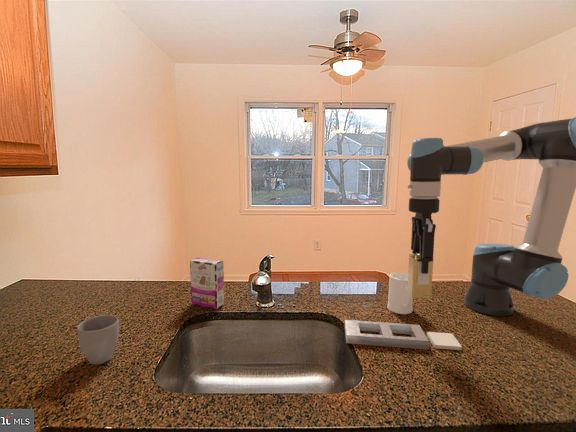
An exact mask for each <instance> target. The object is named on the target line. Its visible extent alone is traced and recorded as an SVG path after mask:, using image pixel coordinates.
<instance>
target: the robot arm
mask: <svg viewBox="0 0 576 432" xmlns="http://www.w3.org/2000/svg"><path fill="white" fill-rule="evenodd" d="M498 160H503V161H507V162H508V161H514V160H538V164H539V165H540V166H541V167H542V171H541V175H540V179H539V181H538V182H539V183H538V186H537V188H536V192H535V197H534V199H533V203H532V207H531V210H530V214H529V217H528V218H529V219H528V221H527V225H526V229H525V232H524V235H523V236H524V237H523V239H522V242H521V243H520V244H518V245H516V246H514V245H512V244H505V243H504V244H503V243H480V244H479V243H478V244H477V245H476V246H475V247H474V251H473V255H472V266H471V279H470V284H469V286H468V288H467V290H466V291H465V294H464V296H463V304H464V305H465V306H466V307H467V308H468V309H470V310H472V311H476V312H478V313H480V314H484V315H489V316H493V317H494V316H497V317H508V316H511V315H513V314H514V311H515V310H514V309H515V305H514V302H513V298H512V293H511V290H510V289H513V290H516V291H518V292H520V293H523V294H525V295H527V296H530V297H534V298H537V299H541V300H546V299H547V300H548V299H552V298H553V297H555V296H557V295H559V294H560V293H561V292H562V291H563V289H564V288H565V287H566V286H567V283H568V280H569V273H568V268H567V266H565V265H564V264H562V261H563V258H564V257H563V256H562V255H561V254H560V253H559V247H560V245H561V244H560V243H561V240H562V236H563V233H564V229H565V226H566V223H567V219H568V216H569V212H570V209H571V205H572V202H573V199H574V195H575V192H576V116H575V117H572V118H567V119H559V120H552V121H546V122H537V123H534V124H531V125H527V126H524V127H520V128H516V129H513V130H508V131H504V132H502V133H501V134H500V135H497V136H492V137H486V138H482V139H477V140H472V141H471V140H470V141H465V142H461V143H454V144H449V145H445V146H444V140H443V139H442V138H441V137H425V138H417V139H414V140H413V141H412V143H411V153H410V154H409V156H408V158H407V168H408V170H409V172H410V174H409V175H410V177H409V184H408V185H407V189H409V196H410V197H409V198H408V211H409V212H411V213H415V215H414V216H412V217H411V241H410V243H411V245H410V250H411V251H412V254H416V253H420V259H417V261H418V277H417V284H423V285H428V284H429V266H430V261H433V262H434V253H435V252H434V250H435V249H434V248H435V233H436V228H437V226H436V224H435V223H434V221H433V218H432V214H436V213H439V212H440V199H439V198H438V197H440V196H441V189H442V188H441V187H442V179H441V178H442V176H444V175H455V176H456V175H462V176H466V175H473V174H476V173H477V172H478V171H479V170H481V168H482V167H483V164H484V163H489V162H493V161H498Z"/></svg>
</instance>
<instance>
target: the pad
mask: <svg viewBox="0 0 576 432" xmlns="http://www.w3.org/2000/svg"><path fill="white" fill-rule="evenodd" d="M426 337H427V338H428V340H429V342H431V344H432V346H433V348H434V349H440V350H441V349H442V350H452V351H453V350H454V351H463V346H462V345H461V343H460V342H459V341H458V339H457V338H456V337H455V336H454V334H453V333H447V332H434V331H427V332H426Z"/></svg>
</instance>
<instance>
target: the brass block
mask: <svg viewBox="0 0 576 432" xmlns="http://www.w3.org/2000/svg"><path fill="white" fill-rule="evenodd" d="M417 259H420V253H416V254H413V253H412V254H411V253H410V254H408V268H407V269H408V272H407V274H408V290H407V291H408V292H409V294H410V296H411V297H412V298H413V299H427V300H429V299H432V287H433V285H432V284H433V269H434V260H433V261H430V266H429V284H428V285H423V284H417V277H418V261H417Z"/></svg>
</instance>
